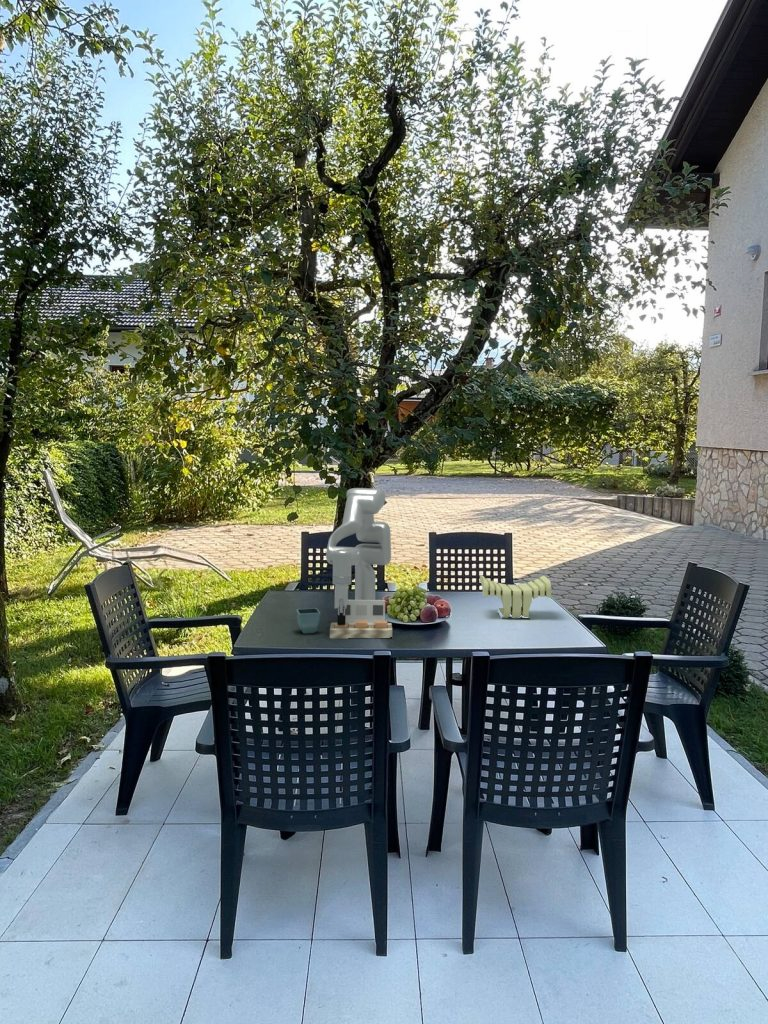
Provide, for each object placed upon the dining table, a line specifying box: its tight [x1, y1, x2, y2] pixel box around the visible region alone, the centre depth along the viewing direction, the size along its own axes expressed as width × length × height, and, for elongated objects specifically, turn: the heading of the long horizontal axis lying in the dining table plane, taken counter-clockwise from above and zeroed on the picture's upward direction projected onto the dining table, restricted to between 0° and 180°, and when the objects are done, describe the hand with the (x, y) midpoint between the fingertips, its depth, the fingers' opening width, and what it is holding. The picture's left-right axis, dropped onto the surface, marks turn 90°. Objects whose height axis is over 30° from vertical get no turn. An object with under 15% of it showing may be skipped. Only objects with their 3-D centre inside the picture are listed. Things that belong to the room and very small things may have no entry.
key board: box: [329, 622, 393, 639], centre depth 295 cm, size 25×12×4 cm, turn 91°
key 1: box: [335, 622, 348, 628], centre depth 295 cm, size 5×5×4 cm
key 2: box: [375, 619, 388, 628], centre depth 295 cm, size 5×5×4 cm
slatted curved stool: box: [479, 574, 552, 618], centre depth 332 cm, size 30×16×18 cm, turn 90°
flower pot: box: [295, 607, 321, 635], centre depth 298 cm, size 9×9×9 cm
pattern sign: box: [345, 599, 386, 623], centre depth 310 cm, size 20×5×11 cm, turn 91°
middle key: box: [355, 620, 367, 628], centre depth 295 cm, size 5×5×4 cm
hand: (341, 624), depth 295 cm, fingers closed
